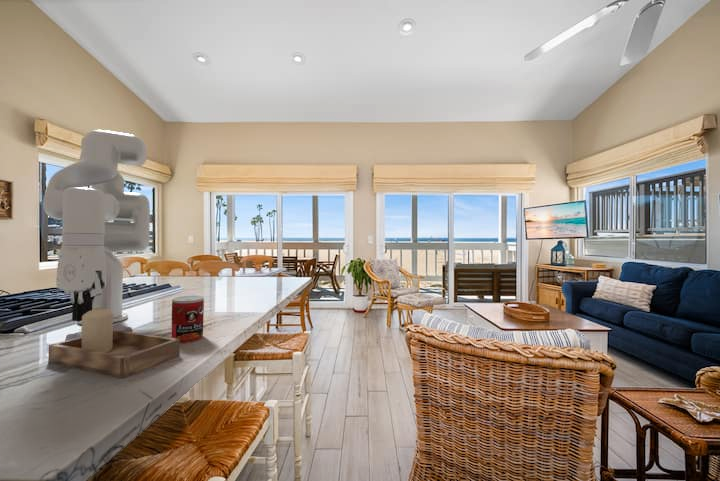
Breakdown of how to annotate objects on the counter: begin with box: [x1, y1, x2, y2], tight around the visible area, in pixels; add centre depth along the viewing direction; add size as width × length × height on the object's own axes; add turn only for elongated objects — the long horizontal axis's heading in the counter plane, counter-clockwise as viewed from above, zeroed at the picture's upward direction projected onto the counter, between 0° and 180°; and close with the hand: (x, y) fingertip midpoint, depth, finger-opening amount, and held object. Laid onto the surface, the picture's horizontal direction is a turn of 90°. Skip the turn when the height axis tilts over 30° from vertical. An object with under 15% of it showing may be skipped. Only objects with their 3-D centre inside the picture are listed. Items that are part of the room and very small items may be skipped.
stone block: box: [64, 323, 134, 341], centre depth 82 cm, size 12×5×10 cm
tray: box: [48, 329, 181, 379], centre depth 71 cm, size 22×13×4 cm, turn 73°
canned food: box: [170, 295, 205, 344], centre depth 87 cm, size 8×8×11 cm
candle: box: [81, 307, 114, 353], centre depth 73 cm, size 6×6×10 cm
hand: (82, 319), depth 75 cm, fingers closed
